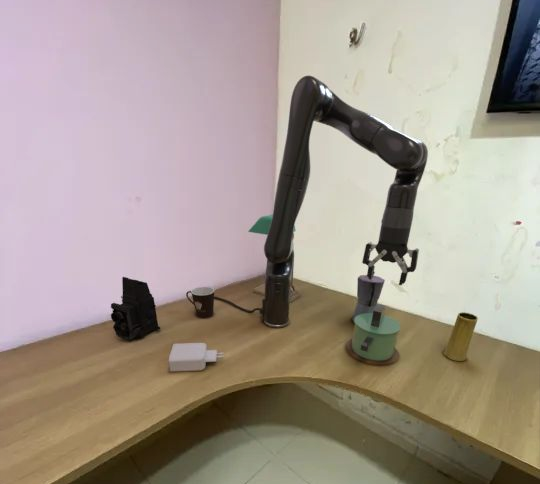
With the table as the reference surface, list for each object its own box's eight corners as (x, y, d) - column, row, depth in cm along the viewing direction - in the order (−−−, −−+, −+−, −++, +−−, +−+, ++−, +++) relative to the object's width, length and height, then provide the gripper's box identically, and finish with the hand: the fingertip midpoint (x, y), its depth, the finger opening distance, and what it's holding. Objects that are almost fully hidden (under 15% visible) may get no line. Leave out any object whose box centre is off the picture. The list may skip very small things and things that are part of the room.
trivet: (339, 354, 98) (339, 353, 97) (355, 334, 110) (355, 332, 110) (391, 372, 90) (392, 370, 90) (402, 347, 102) (403, 346, 102)
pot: (357, 334, 108) (364, 295, 102) (398, 346, 102) (408, 305, 95) (338, 360, 93) (344, 317, 87) (384, 376, 87) (394, 330, 81)
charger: (223, 371, 89) (170, 373, 88) (224, 353, 97) (175, 355, 96) (222, 357, 87) (168, 359, 86) (224, 340, 95) (174, 342, 94)
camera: (110, 339, 103) (96, 282, 94) (142, 323, 114) (132, 270, 105) (131, 347, 99) (119, 289, 90) (162, 329, 110) (154, 275, 101)
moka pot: (373, 314, 125) (382, 266, 116) (381, 332, 111) (392, 280, 102) (349, 312, 126) (356, 265, 117) (354, 331, 112) (363, 278, 103)
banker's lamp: (286, 304, 131) (290, 220, 116) (246, 293, 142) (246, 214, 126) (303, 293, 143) (309, 215, 128) (266, 284, 154) (267, 210, 138)
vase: (463, 353, 100) (477, 313, 94) (467, 363, 95) (482, 322, 89) (442, 349, 102) (454, 310, 96) (445, 359, 97) (458, 318, 91)
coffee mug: (220, 315, 121) (218, 291, 117) (200, 321, 116) (198, 297, 112) (205, 305, 129) (203, 283, 125) (186, 311, 124) (183, 287, 120)
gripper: (427, 225, 82) (413, 282, 89) (373, 219, 89) (364, 273, 96) (422, 229, 76) (408, 290, 83) (365, 223, 83) (357, 280, 90)
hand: (385, 281), depth 90 cm, fingers open, 8 cm apart
